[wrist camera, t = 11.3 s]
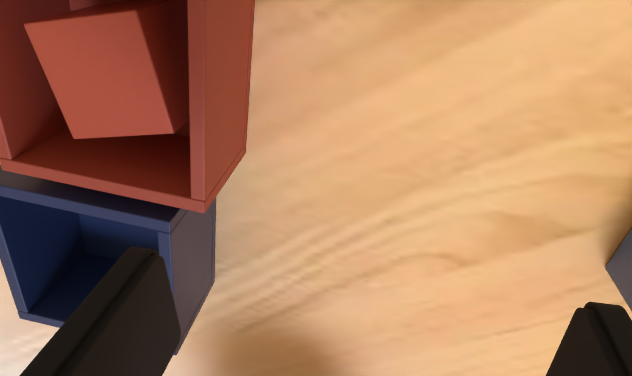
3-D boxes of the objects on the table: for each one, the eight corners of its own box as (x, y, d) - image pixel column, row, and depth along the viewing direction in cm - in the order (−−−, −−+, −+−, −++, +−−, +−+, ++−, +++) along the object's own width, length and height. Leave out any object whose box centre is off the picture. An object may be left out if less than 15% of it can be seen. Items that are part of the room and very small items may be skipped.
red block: (96, 4, 19) (21, 23, 15) (190, -8, 18) (135, 9, 14) (130, 102, 21) (72, 139, 17) (216, 95, 20) (174, 134, 16)
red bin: (53, -74, 18) (-70, -75, 13) (257, -39, 17) (205, -26, 13) (83, 120, 22) (1, 170, 18) (245, 153, 22) (204, 214, 17)
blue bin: (59, 128, 23) (-27, 179, 18) (217, 161, 22) (169, 222, 18) (83, 252, 27) (19, 318, 23) (214, 282, 27) (176, 355, 22)
